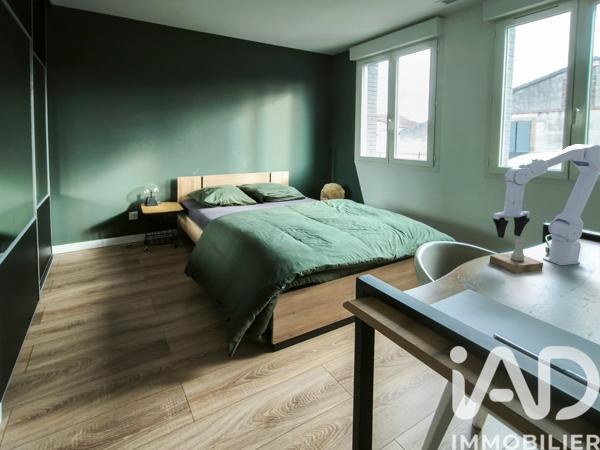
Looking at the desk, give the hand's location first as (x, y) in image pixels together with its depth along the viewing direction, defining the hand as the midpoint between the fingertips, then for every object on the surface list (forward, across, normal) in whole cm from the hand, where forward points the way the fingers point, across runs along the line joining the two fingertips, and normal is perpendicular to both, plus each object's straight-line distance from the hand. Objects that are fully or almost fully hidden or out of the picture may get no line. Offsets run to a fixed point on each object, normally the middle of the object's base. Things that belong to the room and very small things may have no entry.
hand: (508, 236), depth 137 cm
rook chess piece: (+8, 0, -5) cm, 9 cm away
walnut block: (+10, 0, -4) cm, 11 cm away
